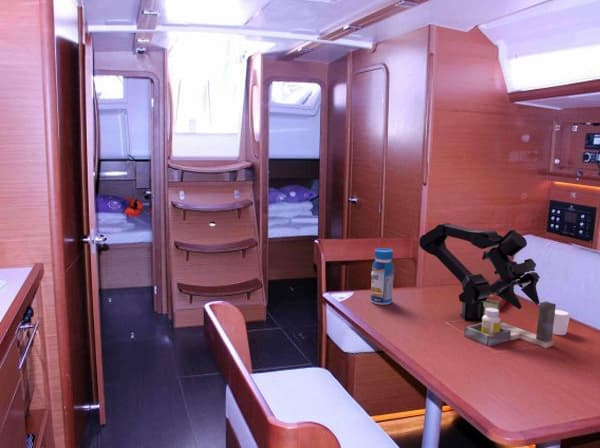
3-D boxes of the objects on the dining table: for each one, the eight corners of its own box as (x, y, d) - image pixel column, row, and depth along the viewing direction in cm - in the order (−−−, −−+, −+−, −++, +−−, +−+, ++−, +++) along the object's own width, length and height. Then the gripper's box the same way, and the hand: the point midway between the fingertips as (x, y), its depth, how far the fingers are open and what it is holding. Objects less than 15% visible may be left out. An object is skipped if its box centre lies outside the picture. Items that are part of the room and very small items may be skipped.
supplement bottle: (498, 337, 172) (501, 308, 171) (499, 344, 167) (501, 313, 166) (480, 335, 174) (483, 306, 172) (480, 341, 169) (483, 311, 167)
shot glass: (570, 337, 175) (573, 316, 173) (547, 335, 176) (550, 314, 175) (564, 329, 181) (567, 309, 180) (542, 327, 183) (545, 307, 181)
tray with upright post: (464, 335, 173) (467, 296, 170) (500, 326, 182) (503, 288, 180) (517, 357, 157) (521, 314, 155) (553, 345, 167) (557, 304, 165)
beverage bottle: (394, 305, 201) (397, 252, 198) (371, 305, 201) (373, 252, 198) (390, 298, 210) (393, 247, 206) (368, 298, 210) (371, 247, 206)
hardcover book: (511, 299, 215) (512, 288, 214) (498, 313, 198) (499, 301, 197) (480, 293, 222) (480, 283, 221) (465, 306, 204) (466, 295, 203)
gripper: (501, 253, 167) (529, 298, 160) (537, 247, 177) (565, 289, 170) (477, 272, 175) (504, 315, 168) (513, 265, 185) (540, 306, 178)
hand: (529, 306), depth 170 cm, fingers open, 9 cm apart
